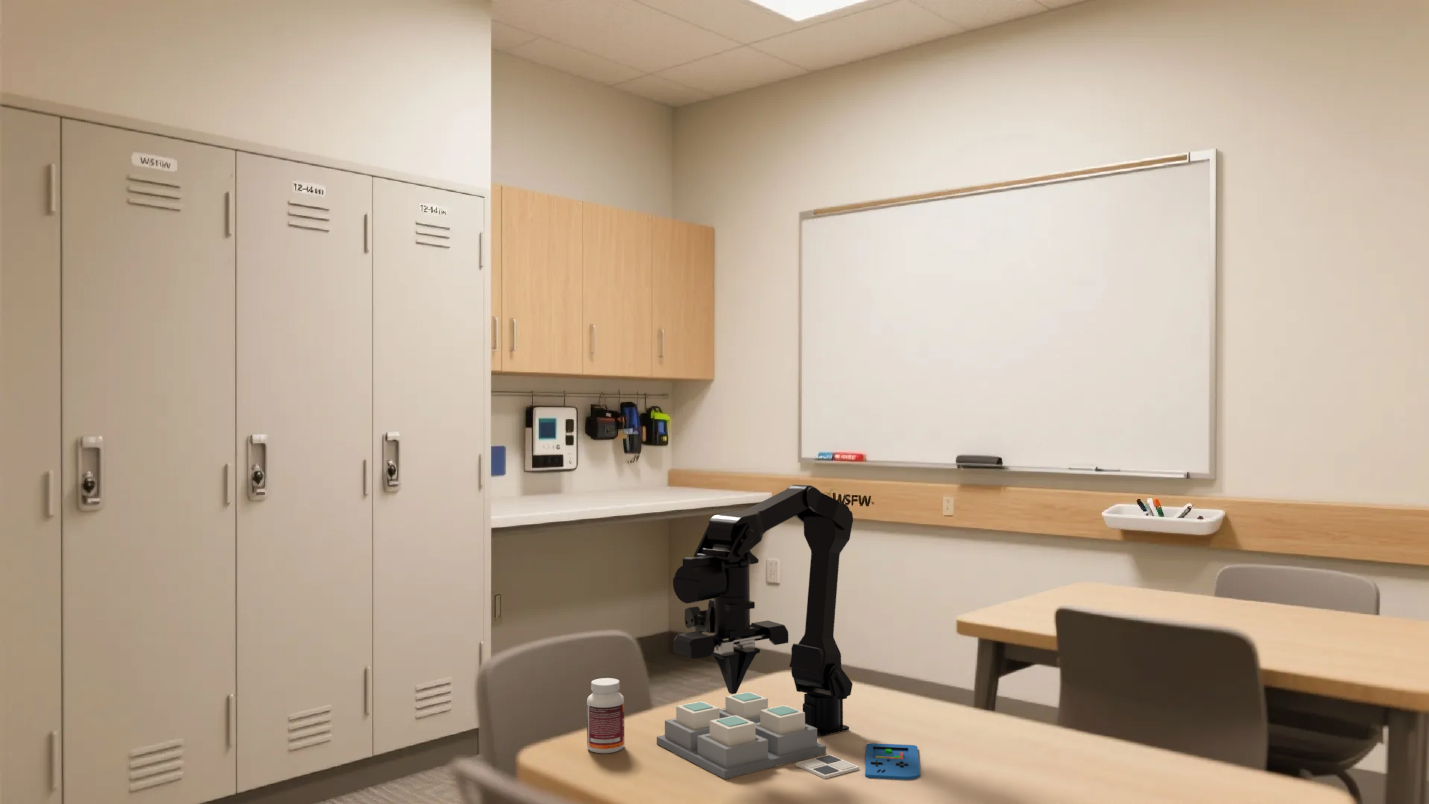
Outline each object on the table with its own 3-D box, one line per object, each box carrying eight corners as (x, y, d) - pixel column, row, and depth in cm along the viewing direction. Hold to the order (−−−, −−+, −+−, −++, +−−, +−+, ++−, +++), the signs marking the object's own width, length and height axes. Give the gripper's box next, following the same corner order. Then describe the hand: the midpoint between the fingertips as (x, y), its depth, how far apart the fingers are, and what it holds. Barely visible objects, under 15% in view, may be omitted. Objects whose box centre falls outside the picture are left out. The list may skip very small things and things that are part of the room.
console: (753, 723, 180) (752, 700, 180) (826, 753, 163) (825, 728, 163) (656, 743, 168) (656, 719, 168) (724, 779, 152) (724, 752, 152)
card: (829, 756, 162) (829, 753, 162) (859, 769, 156) (859, 766, 156) (795, 765, 158) (795, 762, 158) (824, 778, 152) (824, 775, 152)
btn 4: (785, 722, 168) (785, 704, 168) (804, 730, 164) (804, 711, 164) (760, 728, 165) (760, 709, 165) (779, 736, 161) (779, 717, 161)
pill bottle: (631, 750, 166) (631, 682, 166) (597, 757, 162) (597, 688, 162) (613, 740, 171) (613, 674, 171) (580, 746, 167) (580, 680, 167)
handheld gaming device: (865, 772, 152) (866, 741, 167) (865, 780, 152) (866, 747, 167) (920, 775, 151) (917, 743, 166) (920, 782, 151) (917, 750, 166)
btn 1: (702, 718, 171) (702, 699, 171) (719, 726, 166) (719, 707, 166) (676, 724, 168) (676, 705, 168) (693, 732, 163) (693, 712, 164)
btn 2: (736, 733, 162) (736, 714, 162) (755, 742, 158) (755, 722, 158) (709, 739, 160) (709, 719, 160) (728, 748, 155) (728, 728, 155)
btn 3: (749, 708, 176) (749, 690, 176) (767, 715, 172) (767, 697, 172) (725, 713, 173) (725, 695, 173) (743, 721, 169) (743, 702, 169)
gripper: (749, 581, 171) (750, 673, 171) (654, 593, 161) (655, 691, 160) (790, 591, 162) (791, 688, 162) (692, 604, 151) (693, 708, 151)
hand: (732, 693), depth 159 cm, fingers closed
